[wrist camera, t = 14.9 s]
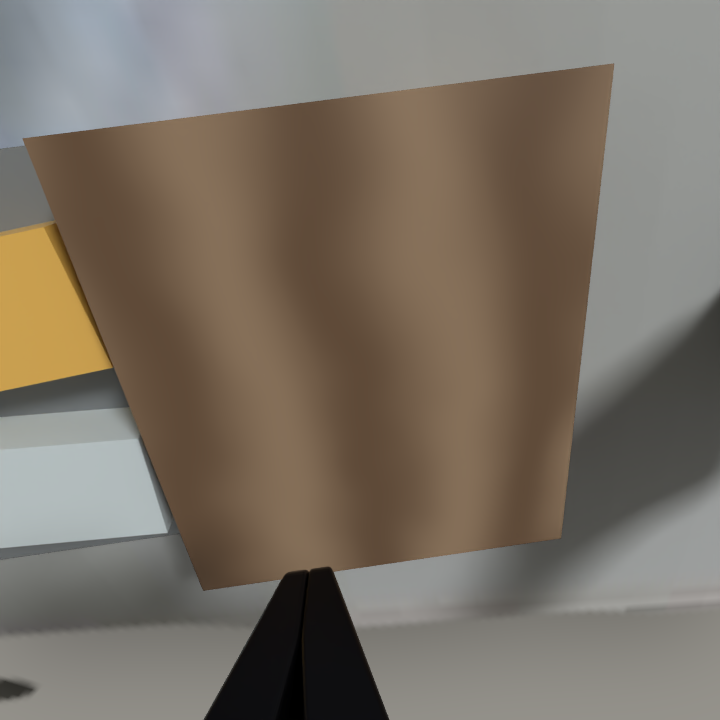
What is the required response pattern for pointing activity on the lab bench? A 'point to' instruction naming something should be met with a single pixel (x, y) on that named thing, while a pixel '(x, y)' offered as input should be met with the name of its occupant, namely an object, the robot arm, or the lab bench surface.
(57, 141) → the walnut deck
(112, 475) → the pale blue slide box
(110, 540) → the slate mat
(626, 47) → the lab bench surface
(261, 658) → the robot arm
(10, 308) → the amber slide box
